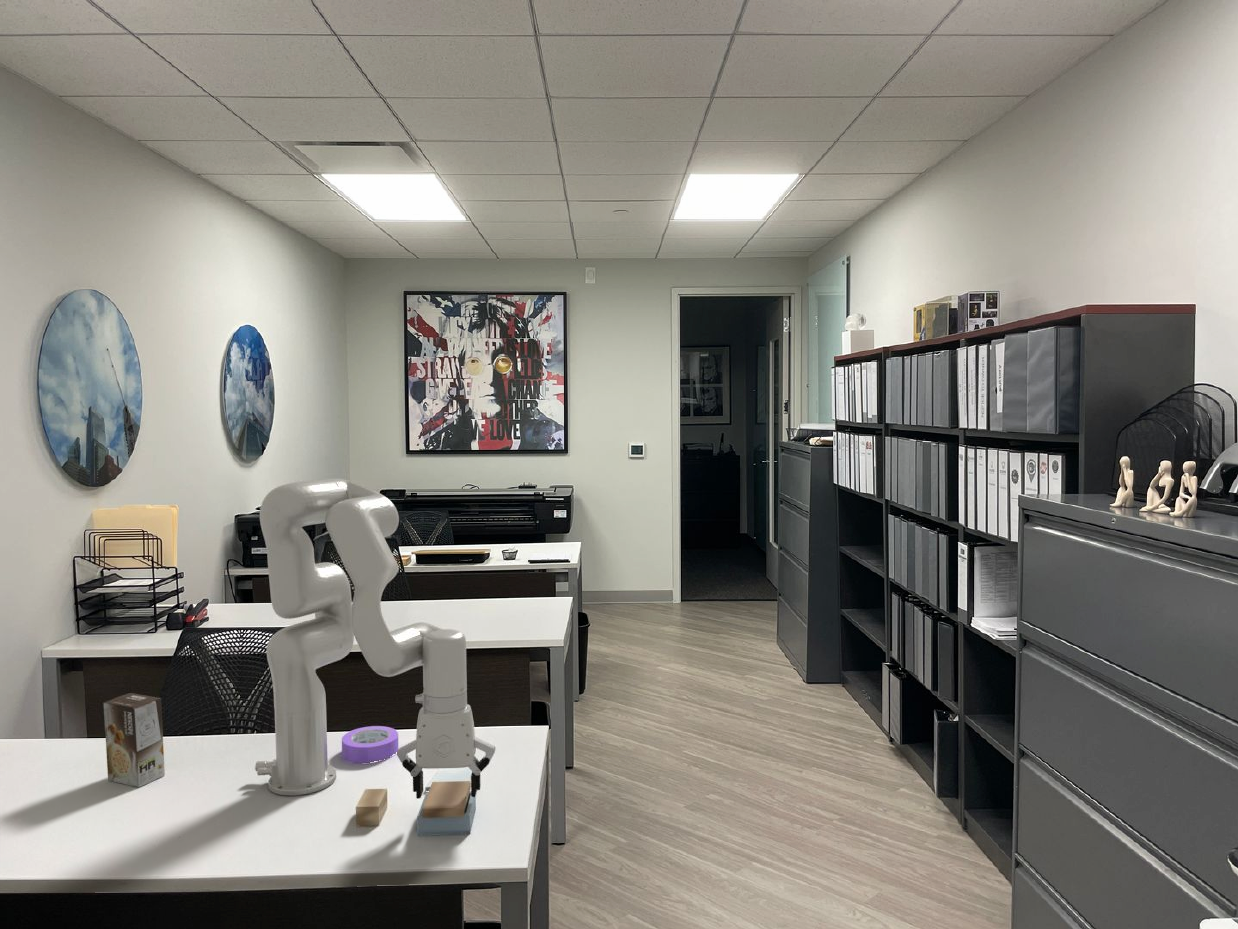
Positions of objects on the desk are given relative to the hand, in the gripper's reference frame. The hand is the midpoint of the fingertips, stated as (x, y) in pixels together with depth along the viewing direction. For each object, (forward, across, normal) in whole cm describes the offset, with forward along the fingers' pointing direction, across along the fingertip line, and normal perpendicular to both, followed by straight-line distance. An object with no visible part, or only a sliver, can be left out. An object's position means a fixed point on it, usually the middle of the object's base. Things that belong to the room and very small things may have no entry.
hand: (447, 794), depth 154 cm
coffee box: (+5, -65, +22) cm, 69 cm away
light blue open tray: (+5, 0, 0) cm, 5 cm away
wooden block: (+5, -14, +3) cm, 15 cm away
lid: (+2, 0, 0) cm, 2 cm away
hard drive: (+6, -1, +18) cm, 19 cm away
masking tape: (+6, -21, +32) cm, 39 cm away
